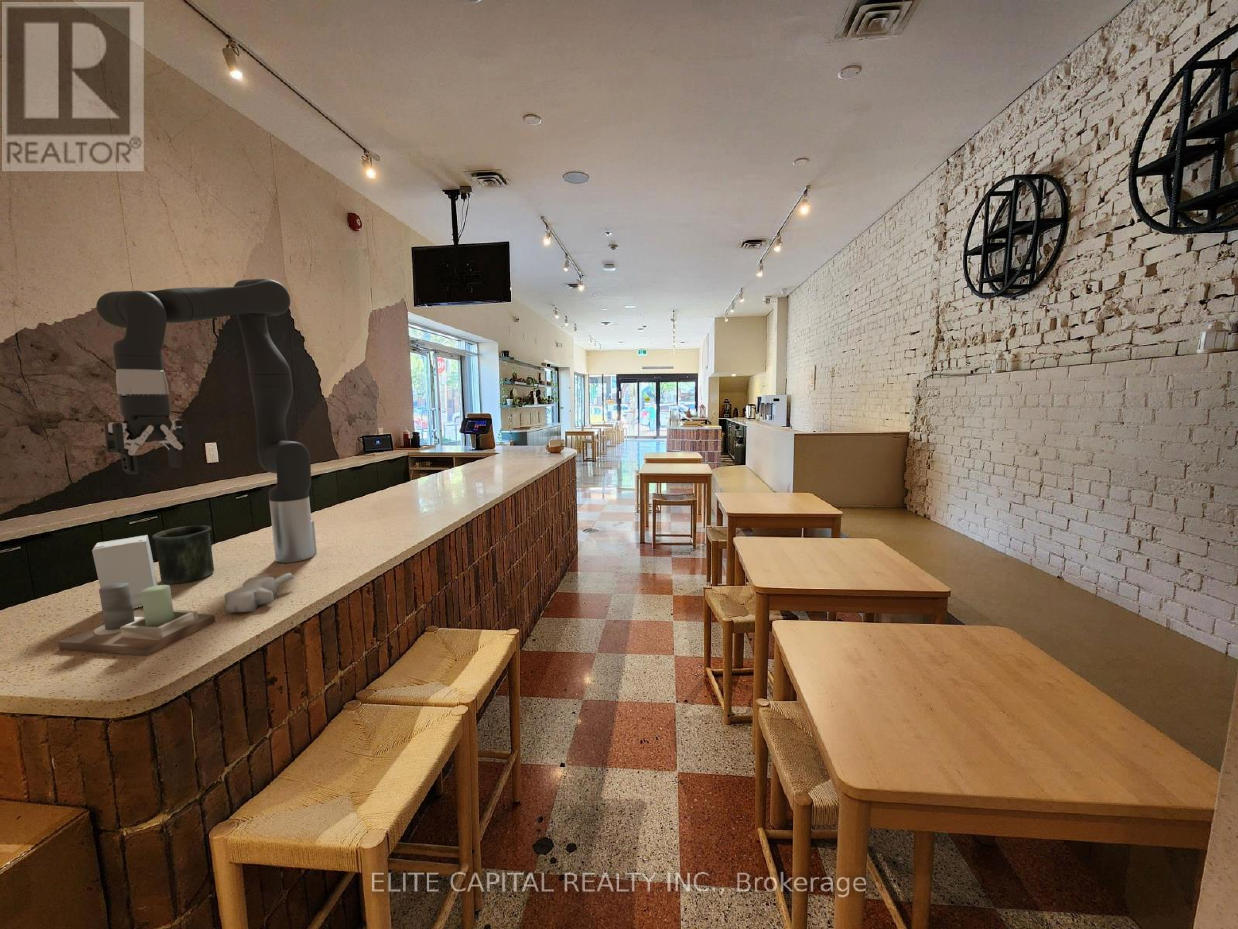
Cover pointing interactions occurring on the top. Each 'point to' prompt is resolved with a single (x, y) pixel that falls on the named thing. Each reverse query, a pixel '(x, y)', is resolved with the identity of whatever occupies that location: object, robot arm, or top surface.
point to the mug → (184, 554)
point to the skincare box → (126, 565)
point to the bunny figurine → (254, 593)
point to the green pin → (157, 605)
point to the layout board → (132, 627)
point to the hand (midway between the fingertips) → (154, 470)
